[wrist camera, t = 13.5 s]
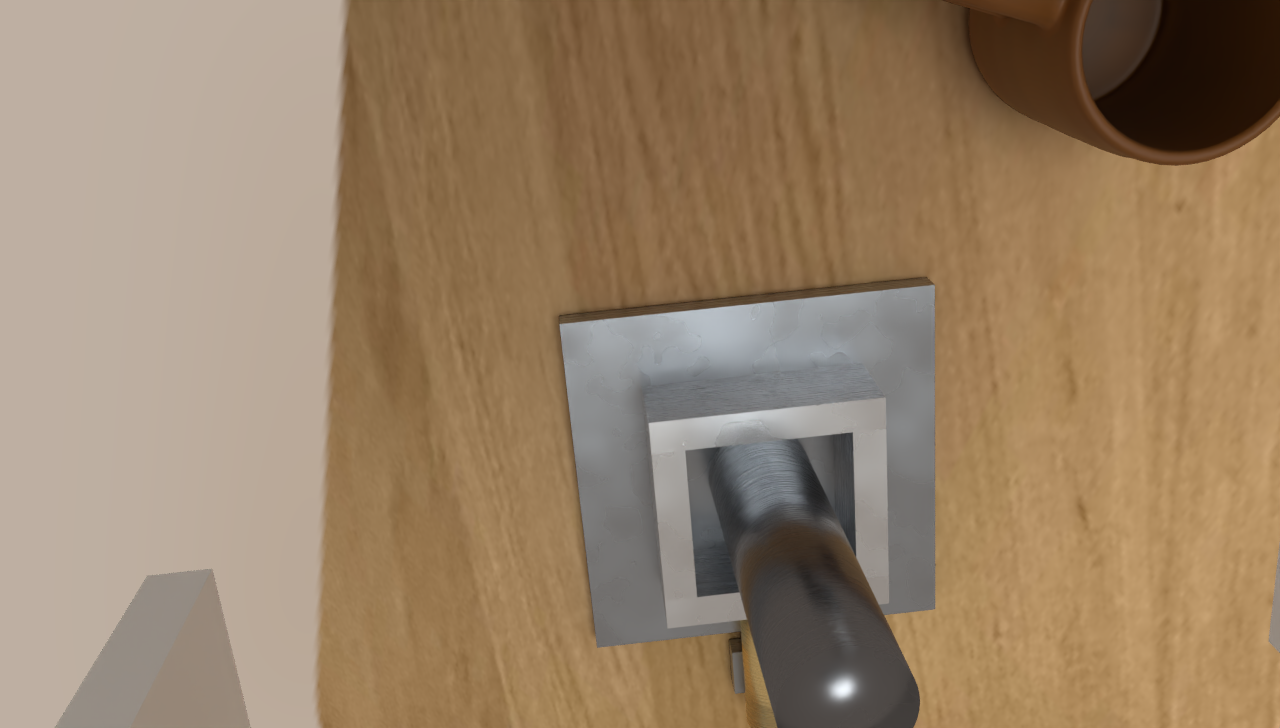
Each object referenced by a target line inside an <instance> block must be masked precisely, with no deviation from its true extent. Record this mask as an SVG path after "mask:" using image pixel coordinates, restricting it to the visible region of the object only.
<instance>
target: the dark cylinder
mask: <svg viewBox="0 0 1280 728" xmlns="http://www.w3.org/2000/svg"><path fill="white" fill-rule="evenodd" d="M709 486H710V490H711V493H712V497H713V500H714V504H715V507H716V511H717V515H718V518H719V522H720V525H721V529H722V532H723V536H724V539H725V543H726V547H727V550H728V554H729V557H730V561H731V564H732V568H733V571H734V575H735V579H736V582H737V586H738V589H739V593H740V596H741V600H742V603H743V607H744V611H745V614H746V618H747V621H748V625H749V628H750V632H751V636H752V639H753V643H754V646H755V650H756V653H757V657H758V660H759V664H760V668H761V671H762V675H763V678H764V682H765V685H766V689H767V692H768V696H769V700H770V703H771V707H772V710H773V714H774V717H775V721H776V724H777V728H913V727H914V725H915V723H916V720H917V717H918V713H919V706H920V697H919V691H918V686H917V684H916V681H915V679H914V677H913V675H912V673H911V671H910V669H909V666H908V664H907V662H906V660H905V658H904V656H903V654H902V652H901V650H900V648H899V646H898V644H897V641H896V639H895V637H894V635H893V633H892V631H891V629H890V627H889V625H888V623H887V621H886V618H885V616H884V614H883V612H882V610H881V608H880V606H879V604H878V602H877V600H876V598H875V596H874V593H873V591H872V589H871V587H870V585H869V583H868V581H867V579H866V577H865V575H864V573H863V570H862V568H861V566H860V564H859V562H858V560H857V558H856V556H855V554H854V552H853V550H852V548H851V545H850V543H849V541H848V539H847V537H846V535H845V533H844V531H843V529H842V527H841V525H840V523H839V520H838V518H837V516H836V514H835V512H834V510H833V508H832V506H831V504H830V502H829V500H828V497H827V495H826V493H825V491H824V489H823V487H822V485H821V483H820V481H819V479H818V477H817V475H816V472H815V470H814V468H813V466H812V464H811V462H810V460H809V458H808V456H807V454H806V452H805V450H804V448H803V447H802V446H801V444H800V443H799V442H798V441H797V440H796V439H786V440H777V441H768V442H759V443H750V444H740V445H731V446H722V447H720V448H719V449H718V451H717V452H716V454H715V455H714V457H713V460H712V462H711V465H710V469H709Z"/></svg>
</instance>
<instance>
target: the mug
mask: <svg viewBox="0 0 1280 728" xmlns="http://www.w3.org/2000/svg"><path fill="white" fill-rule="evenodd" d="M943 1H946V2H950V3H953V4H956V5H960V6H963V7H967V8H970V13H969V34H970V43H971V47H972V52H973V56H974V58H975V61H976V63H977V66H978V68H979V70H980V72H981V74H982V76H983V77H984V79H985V81H986V82H987V84H988V85H989V86H990V88H991V89H992V90H993V92H994V93H995V94H996V95H997V96H998V97H999V98H1000V99H1002V100H1003V101H1004V102H1005V103H1006V104H1008V105H1009V106H1011V107H1012V108H1013V109H1015V110H1016V111H1018V112H1020V113H1022V114H1024V115H1026V116H1027V117H1029V118H1031V119H1033V120H1036V121H1038V122H1041V123H1043V124H1045V125H1047V126H1049V127H1051V128H1053V129H1055V130H1057V131H1060V132H1062V133H1064V134H1066V135H1069V136H1071V137H1073V138H1076V139H1078V140H1080V141H1083V142H1085V143H1087V144H1090V145H1092V146H1094V147H1097V148H1099V149H1102V150H1105V151H1107V152H1110V153H1113V154H1116V155H1119V156H1123V157H1128V158H1133V159H1137V160H1140V161H1144V162H1149V163H1154V164H1159V165H1175V166H1176V165H1189V164H1195V163H1200V162H1205V161H1209V160H1212V159H1215V158H1218V157H1221V156H1223V155H1226V154H1228V153H1230V152H1232V151H1234V150H1236V149H1238V148H1240V147H1242V146H1243V145H1245V144H1246V143H1248V142H1250V141H1251V140H1253V139H1254V138H1256V137H1257V136H1258V135H1260V134H1261V133H1262V132H1263V131H1265V130H1266V129H1267V128H1268V127H1270V126H1271V125H1272V124H1273V123H1274V122H1275V121H1276V120H1277V119H1278V118H1279V117H1280V0H943Z"/></svg>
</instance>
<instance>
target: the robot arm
mask: <svg viewBox="0 0 1280 728" xmlns="http://www.w3.org/2000/svg"><path fill="white" fill-rule="evenodd" d="M1269 642H1270V643H1271V644H1272V645H1273V646H1274V647H1275V648H1276V649H1277V650H1278V651H1279V652H1280V544H1279V553H1278V562H1277V571H1276V580H1275V589H1274V598H1273V607H1272V616H1271V625H1270V634H1269ZM55 728H251V727H250V723H249V719H248V715H247V710H246V706H245V702H244V698H243V694H242V690H241V686H240V682H239V677H238V674H237V669H236V665H235V661H234V657H233V653H232V649H231V645H230V640H229V636H228V632H227V628H226V624H225V619H224V615H223V612H222V607H221V603H220V599H219V595H218V591H217V587H216V582H215V578H214V574H213V570H212V569H205V570H196V571H187V572H178V573H169V574H160V575H151V576H147V577H146V579H145V580H144V582H143V584H142V585H141V587H140V589H139V590H138V592H137V594H136V595H135V597H134V599H133V600H132V602H131V603H130V605H129V607H128V608H127V610H126V612H125V613H124V615H123V617H122V618H121V620H120V622H119V623H118V625H117V626H116V628H115V630H114V631H113V633H112V635H111V636H110V638H109V640H108V641H107V643H106V644H105V646H104V648H103V649H102V651H101V653H100V654H99V656H98V658H97V659H96V661H95V663H94V664H93V666H92V668H91V669H90V671H89V673H88V674H87V676H86V677H85V679H84V681H83V682H82V684H81V686H80V687H79V689H78V690H77V692H76V694H75V695H74V697H73V699H72V700H71V702H70V704H69V705H68V707H67V709H66V710H65V712H64V713H63V715H62V717H61V718H60V720H59V722H58V724H57V725H56V727H55Z"/></svg>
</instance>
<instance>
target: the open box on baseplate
mask: <svg viewBox="0 0 1280 728" xmlns="http://www.w3.org/2000/svg"><path fill="white" fill-rule="evenodd" d="M559 325H560V334H561V342H562V351H563V360H564V368H565V377H566V385H567V394H568V402H569V411H570V419H571V428H572V437H573V445H574V454H575V462H576V471H577V479H578V488H579V496H580V505H581V513H582V522H583V531H584V539H585V548H586V556H587V565H588V573H589V582H590V590H591V599H592V608H593V616H594V625H595V633H596V642H597V648H598V647H607V646H616V645H625V644H633V643H642V642H651V641H660V640H669V639H677V638H686V637H695V636H704V635H713V634H721V633H730V632H739V631H741V638H738V639H730V640H729V648H730V662H731V676H732V683H733V687H734V691H735V694H736V693H745V698H746V713H747V722H748V724H749V725H750V727H751V728H777V724H776V721H775V717H774V714H773V710H772V707H771V703H770V700H769V696H768V692H767V689H766V685H765V682H764V678H763V675H762V671H761V668H760V664H759V660H758V657H757V653H756V650H755V646H754V643H753V639H752V636H751V632H750V628H749V625H748V621H747V618H746V614H745V611H744V607H743V603H742V600H741V596H740V593H739V589H738V586H737V582H736V579H735V575H734V571H733V568H732V564H731V561H730V557H729V554H728V550H727V547H726V543H725V539H724V536H723V532H722V529H721V525H720V522H719V518H718V515H717V511H716V507H715V504H714V500H713V497H712V493H711V490H710V486H709V469H710V465H711V462H712V460H713V457H714V455H715V454H716V452H717V451H718V449H719V448H720V447H722V446H731V445H740V444H750V443H759V442H768V441H777V440H786V439H796V440H797V441H798V442H799V443H800V444H801V446H802V447H803V448H804V450H805V452H806V454H807V456H808V458H809V460H810V462H811V464H812V466H813V468H814V470H815V472H816V475H817V477H818V479H819V481H820V483H821V485H822V487H823V489H824V491H825V493H826V495H827V497H828V500H829V502H830V504H831V506H832V508H833V510H834V512H835V514H836V516H837V518H838V520H839V523H840V525H841V527H842V529H843V531H844V533H845V535H846V537H847V539H848V541H849V543H850V545H851V548H852V550H853V552H854V554H855V556H856V558H857V560H858V562H859V564H860V566H861V568H862V570H863V573H864V575H865V577H866V579H867V581H868V583H869V585H870V587H871V589H872V591H873V593H874V596H875V598H876V600H877V602H878V604H879V606H880V608H881V610H882V612H883V614H884V615H889V614H897V613H906V612H915V611H924V610H932V609H935V285H934V284H933V283H932V282H931V281H930V280H929V279H928V278H927V277H925V278H916V279H906V280H897V281H887V282H877V283H868V284H858V285H849V286H839V287H830V288H820V289H810V290H801V291H791V292H782V293H772V294H762V295H753V296H743V297H734V298H724V299H715V300H705V301H695V302H686V303H676V304H667V305H657V306H648V307H638V308H628V309H619V310H609V311H600V312H590V313H581V314H571V315H561V316H559Z"/></svg>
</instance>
